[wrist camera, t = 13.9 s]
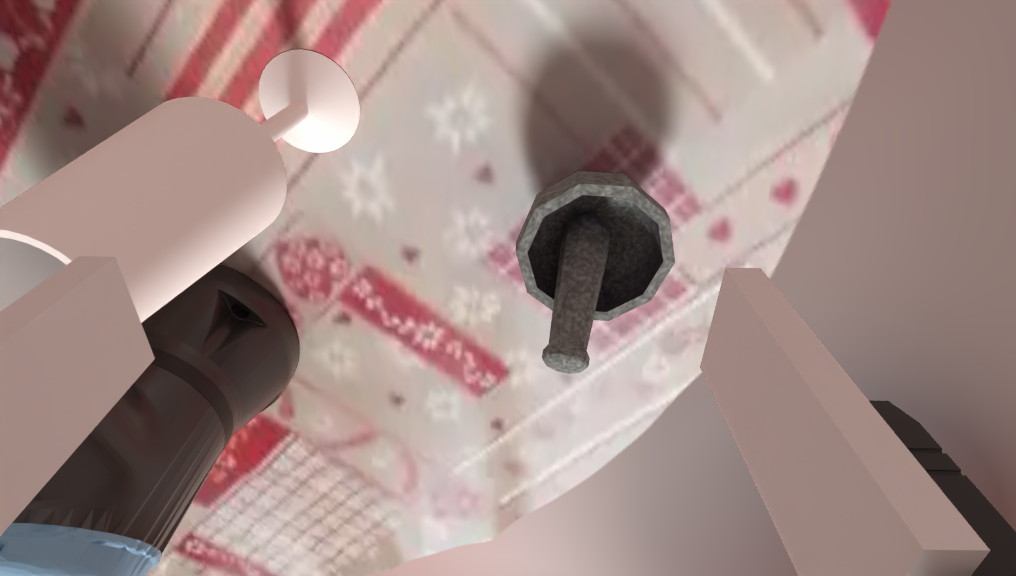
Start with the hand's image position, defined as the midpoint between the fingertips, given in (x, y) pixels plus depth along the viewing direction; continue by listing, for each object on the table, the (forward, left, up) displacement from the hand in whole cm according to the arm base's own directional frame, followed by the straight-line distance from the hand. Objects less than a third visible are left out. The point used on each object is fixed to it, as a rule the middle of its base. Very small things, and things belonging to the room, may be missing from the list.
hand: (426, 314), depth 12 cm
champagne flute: (-12, -3, -27) cm, 30 cm away
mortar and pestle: (+7, -10, -27) cm, 29 cm away
